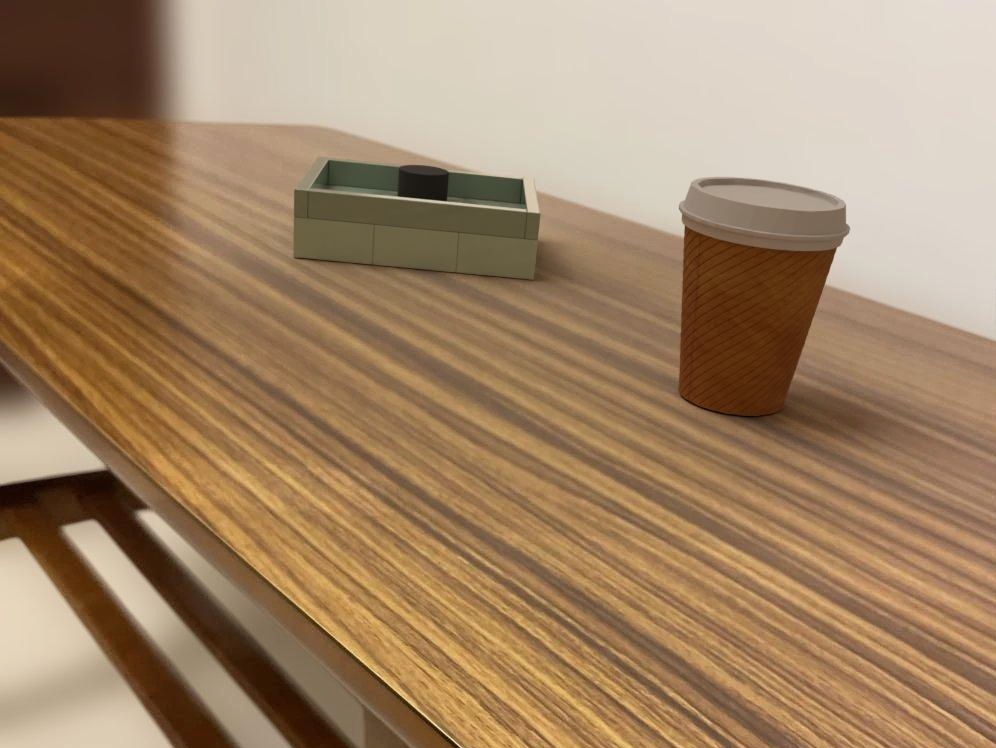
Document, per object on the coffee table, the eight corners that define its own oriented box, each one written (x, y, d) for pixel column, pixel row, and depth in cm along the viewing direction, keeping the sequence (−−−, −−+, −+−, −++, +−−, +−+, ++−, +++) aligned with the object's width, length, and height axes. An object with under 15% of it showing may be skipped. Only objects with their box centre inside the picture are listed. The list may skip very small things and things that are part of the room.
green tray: (293, 257, 92) (293, 216, 90) (317, 215, 105) (317, 179, 103) (533, 280, 93) (537, 240, 92) (527, 236, 106) (531, 200, 105)
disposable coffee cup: (788, 376, 78) (827, 184, 73) (830, 433, 70) (877, 219, 64) (640, 365, 77) (669, 169, 72) (664, 420, 69) (699, 203, 63)
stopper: (393, 241, 99) (397, 171, 97) (396, 230, 103) (400, 162, 100) (443, 246, 100) (448, 176, 97) (444, 235, 103) (449, 167, 101)
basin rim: (293, 216, 90) (294, 189, 89) (317, 180, 103) (317, 156, 102) (537, 240, 92) (540, 213, 91) (531, 202, 104) (534, 178, 103)
